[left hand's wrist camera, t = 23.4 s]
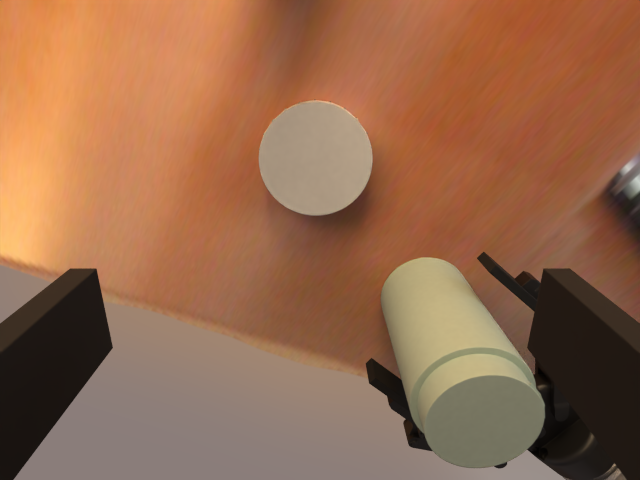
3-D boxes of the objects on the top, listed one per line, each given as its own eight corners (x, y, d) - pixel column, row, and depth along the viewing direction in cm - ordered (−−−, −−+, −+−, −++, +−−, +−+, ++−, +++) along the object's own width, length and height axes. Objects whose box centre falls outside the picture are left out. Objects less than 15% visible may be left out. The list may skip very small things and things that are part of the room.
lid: (375, 102, 36) (379, 104, 34) (364, 211, 39) (367, 219, 37) (262, 95, 36) (258, 97, 33) (261, 205, 39) (257, 213, 37)
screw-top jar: (415, 348, 45) (466, 493, 29) (362, 293, 42) (388, 420, 27) (483, 299, 43) (578, 427, 27) (432, 240, 40) (504, 343, 25)
